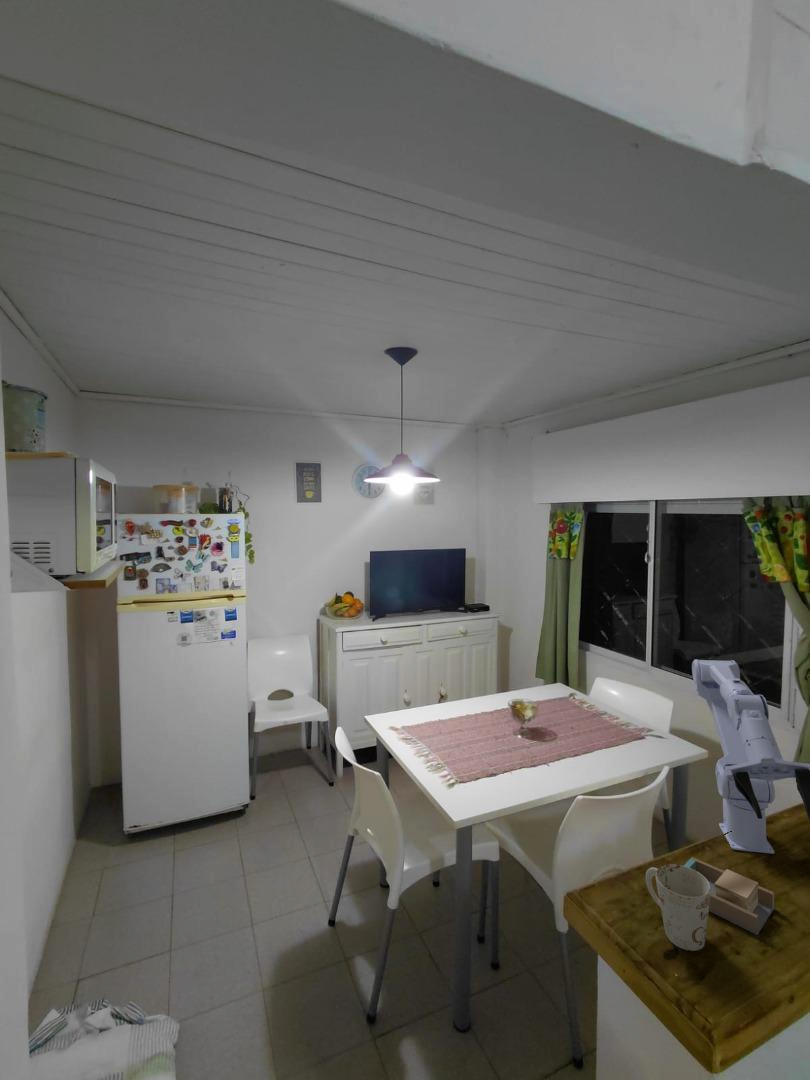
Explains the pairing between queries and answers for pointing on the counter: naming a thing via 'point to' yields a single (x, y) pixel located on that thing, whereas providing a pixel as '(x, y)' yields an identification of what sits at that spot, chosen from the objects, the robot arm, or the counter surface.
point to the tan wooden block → (737, 890)
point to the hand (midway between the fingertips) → (785, 815)
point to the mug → (682, 904)
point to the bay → (728, 909)
